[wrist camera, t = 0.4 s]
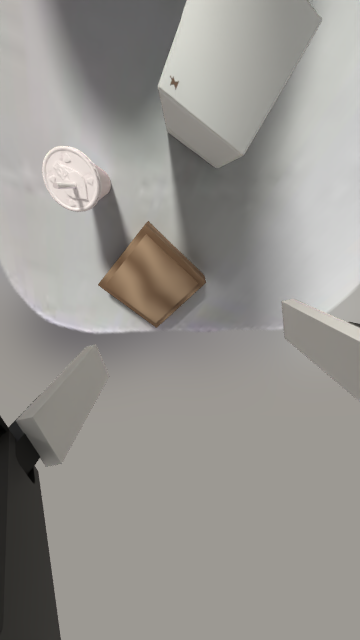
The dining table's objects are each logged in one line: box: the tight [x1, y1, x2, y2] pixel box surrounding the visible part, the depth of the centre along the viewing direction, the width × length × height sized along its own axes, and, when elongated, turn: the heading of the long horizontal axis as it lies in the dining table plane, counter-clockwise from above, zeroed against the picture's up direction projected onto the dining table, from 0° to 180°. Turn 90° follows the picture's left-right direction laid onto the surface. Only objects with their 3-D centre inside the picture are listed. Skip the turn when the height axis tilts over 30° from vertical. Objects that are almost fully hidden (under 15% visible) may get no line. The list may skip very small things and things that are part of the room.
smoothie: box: [42, 146, 111, 212], centre depth 26 cm, size 6×6×14 cm
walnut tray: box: [98, 221, 206, 328], centre depth 38 cm, size 14×14×4 cm
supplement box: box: [158, 0, 322, 169], centre depth 21 cm, size 9×9×15 cm
